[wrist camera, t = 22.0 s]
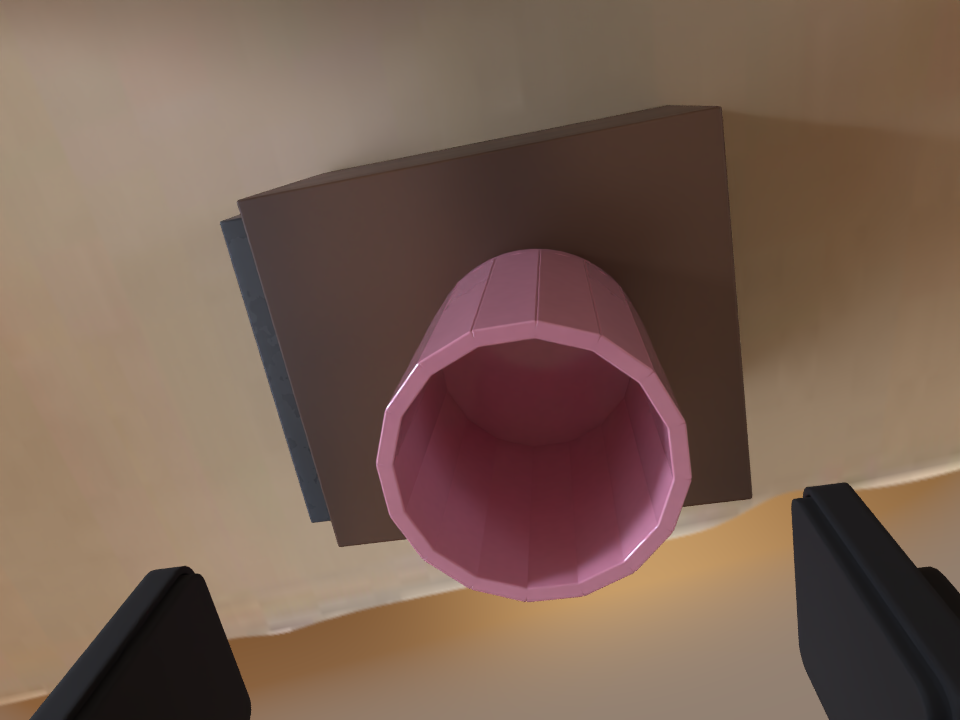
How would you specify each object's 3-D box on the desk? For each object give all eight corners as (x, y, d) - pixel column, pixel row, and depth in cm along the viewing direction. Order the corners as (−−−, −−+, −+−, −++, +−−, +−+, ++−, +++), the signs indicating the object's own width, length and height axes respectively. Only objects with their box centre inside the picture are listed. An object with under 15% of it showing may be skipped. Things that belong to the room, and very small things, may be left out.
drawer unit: (390, 437, 35) (338, 548, 26) (322, 173, 31) (235, 200, 22) (698, 394, 33) (753, 499, 24) (669, 104, 29) (722, 105, 20)
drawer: (334, 441, 34) (281, 527, 27) (267, 200, 31) (185, 228, 24) (647, 398, 32) (674, 479, 25) (613, 132, 29) (635, 142, 22)
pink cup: (455, 459, 25) (414, 614, 17) (411, 268, 23) (344, 350, 15) (654, 433, 24) (703, 585, 16) (629, 230, 22) (673, 298, 14)
